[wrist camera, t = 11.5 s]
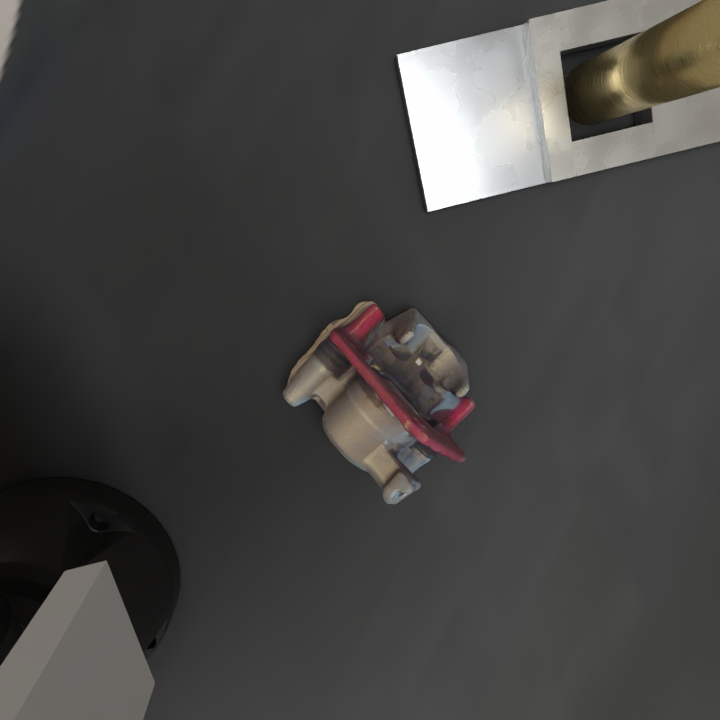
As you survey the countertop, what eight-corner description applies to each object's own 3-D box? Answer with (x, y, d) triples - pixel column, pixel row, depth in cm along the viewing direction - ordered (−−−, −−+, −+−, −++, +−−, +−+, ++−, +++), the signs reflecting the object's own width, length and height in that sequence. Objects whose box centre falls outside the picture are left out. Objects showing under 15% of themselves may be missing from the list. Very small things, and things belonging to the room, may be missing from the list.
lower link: (425, 211, 38) (428, 211, 37) (394, 58, 35) (397, 54, 34) (661, 153, 38) (670, 152, 37) (646, -2, 36) (656, -8, 35)
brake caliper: (530, 370, 38) (490, 521, 30) (415, 427, 46) (358, 560, 38) (408, 243, 36) (327, 370, 27) (308, 326, 43) (220, 445, 35)
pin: (566, 130, 37) (729, 81, 23) (558, 69, 36) (723, -24, 22) (622, 117, 37) (820, 59, 23) (615, 55, 36) (817, -46, 22)
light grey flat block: (539, 183, 38) (552, 182, 36) (517, 29, 36) (528, 19, 34) (774, 126, 38) (799, 121, 36) (767, -31, 36) (793, -44, 34)
